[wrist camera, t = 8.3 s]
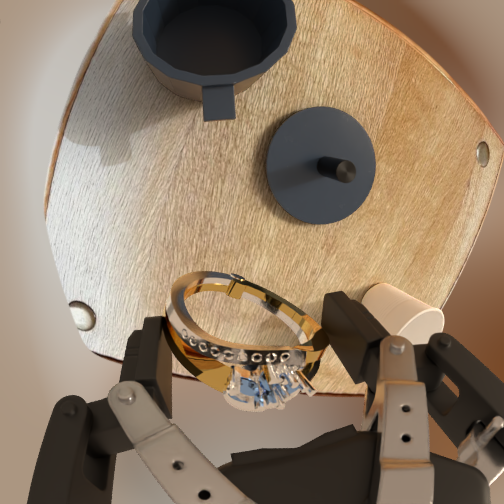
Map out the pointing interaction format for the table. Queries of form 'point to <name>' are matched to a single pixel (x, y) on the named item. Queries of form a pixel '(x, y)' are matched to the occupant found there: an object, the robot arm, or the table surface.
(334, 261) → the table surface
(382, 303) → the cup
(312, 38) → the table surface
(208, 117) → the pot
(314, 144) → the lid
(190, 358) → the ring
